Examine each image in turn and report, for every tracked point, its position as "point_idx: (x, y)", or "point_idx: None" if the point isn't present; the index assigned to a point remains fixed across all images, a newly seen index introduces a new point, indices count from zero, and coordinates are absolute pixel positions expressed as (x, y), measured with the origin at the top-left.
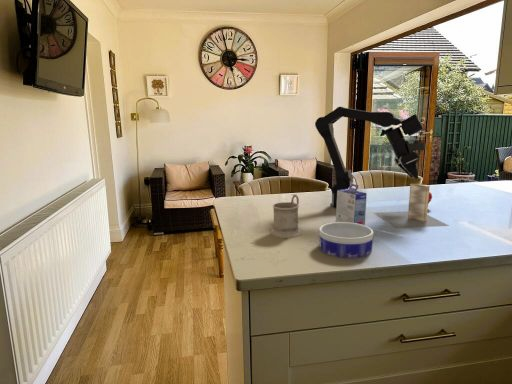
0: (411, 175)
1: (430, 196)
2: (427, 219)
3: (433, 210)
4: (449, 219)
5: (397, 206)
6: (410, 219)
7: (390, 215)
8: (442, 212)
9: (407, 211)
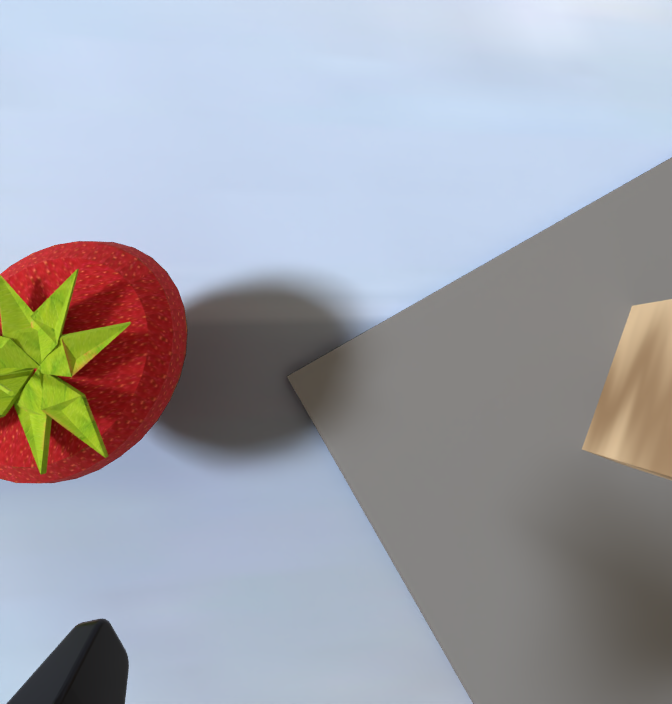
0: (107, 689)
1: (149, 261)
2: (592, 300)
3: (166, 247)
4: (470, 116)
5: (119, 612)
6: None
7: (577, 631)
8: (220, 165)
9: (355, 492)
